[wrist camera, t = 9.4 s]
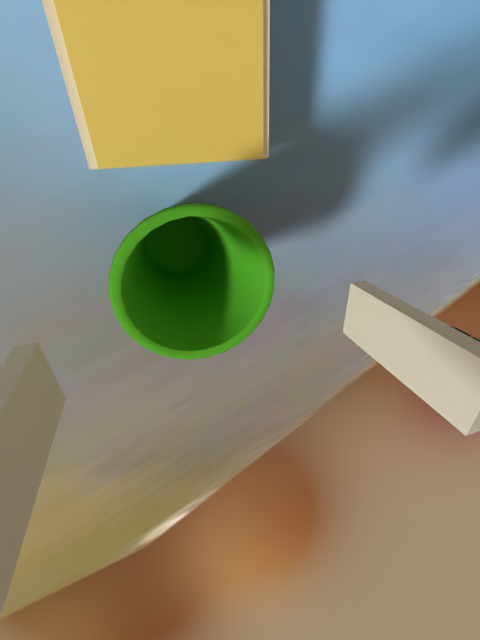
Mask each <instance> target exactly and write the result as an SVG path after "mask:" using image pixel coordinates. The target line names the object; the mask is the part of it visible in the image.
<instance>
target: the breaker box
mask: <svg viewBox="0 0 480 640" xmlns="http://www.w3.org/2000/svg"><path fill="white" fill-rule="evenodd" d="M42 3H43V6H44V10H45V13H46V17H47V20H48V24H49V28H50V31H51V35H52V38H53V42H54V45H55V49H56V52H57V56H58V59H59V63H60V66H61V70H62V73H63V77H64V80H65V84H66V88H67V91H68V95H69V98H70V102H71V105H72V109H73V112H74V116H75V119H76V123H77V126H78V130H79V133H80V137H81V140H82V144H83V147H84V151H85V155H86V158H87V162H88V165H89V169H108V168H124V167H140V166H156V165H172V164H188V163H204V162H220V161H236V160H252V159H265V158H269V53H270V0H42Z"/></svg>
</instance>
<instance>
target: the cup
mask: <svg viewBox="0 0 480 640" xmlns="http://www.w3.org/2000/svg"><path fill="white" fill-rule="evenodd" d="M273 291H274V266H273V261H272V257H271V253H270V251H269V249H268V247H267V245H266V243H265V241H264V239H263V237H262V236H261V235H260V234H259V232H258V231H257V230H256V229H255V228H254V227H253V226H252V225H251V224H250V223H249V222H248V221H247V220H245V219H243V218H242V217H240V216H239V215H237V214H236V213H234V212H233V211H230V210H227V209H224V208H221V207H217V206H214V205H211V204H189V203H188V204H183V205H179V206H174V207H170V208H165V209H163V210H161V211H159V212H157V213H155V214H153V215H152V216H150V217H148V218H146V219H144V220H143V221H142V222H140V223H139V224H138V225H137V226H136V227H135V228H134V229H133V230H132V231H131V232H130V233H129V234H127V235H126V237H125V239H124V240H123V242H122V243H121V245H120V247H119V248H118V250H117V252H116V253H115V255H114V258H113V262H112V266H111V269H110V273H109V298H110V301H111V304H112V307H113V311H114V314H115V316H116V318H117V319H118V321H119V322H120V324H121V325H122V327H123V329H124V330H125V331H126V332H127V333H128V334H129V335H130V336H131V337H132V338H133V339H134V340H135V341H136V342H138V343H139V344H140V345H142V346H144V347H145V348H147V349H149V350H151V351H153V352H155V353H157V354H160V355H163V356H167V357H170V358H176V359H190V360H191V359H199V358H207V357H210V356H213V355H216V354H219V353H223V352H225V351H227V350H229V349H230V348H232V347H234V346H236V345H238V344H239V343H240V342H242V341H243V340H244V339H245V338H246V337H248V336H249V335H250V334H251V333H252V332H253V331H254V329H255V328H256V327H257V326H258V325H259V323H260V322H261V321H262V319H263V317H264V315H265V313H266V312H267V310H268V308H269V306H270V302H271V298H272V295H273Z"/></svg>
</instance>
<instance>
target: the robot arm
mask: <svg viewBox="0 0 480 640" xmlns="http://www.w3.org/2000/svg"><path fill="white" fill-rule="evenodd" d="M343 333H344V334H345V335H347V336H348V337H349V338H350V339H351V340H353V341H354V342H355V343H356V344H357V345H358V346H360V347H361V348H362V349H363V350H364V351H366V352H367V353H368V354H369V355H370V356H372V357H373V358H374V359H375V360H376V361H378V362H379V363H380V364H381V365H382V366H384V367H385V368H386V369H387V370H388V371H390V372H391V373H392V374H393V375H394V376H395V377H397V378H398V379H399V380H400V381H401V382H402V383H404V384H405V385H406V386H407V387H408V388H410V389H411V390H412V391H413V392H414V393H416V394H417V395H418V396H419V397H420V398H422V399H423V400H424V401H425V402H426V403H427V404H429V405H430V406H431V407H432V408H434V409H435V410H436V411H437V412H438V413H439V414H440V415H442V416H443V417H444V418H445V419H447V420H448V421H449V422H450V423H451V424H453V425H454V426H455V427H456V428H457V429H459V431H461V432H462V433H463V434H464V435H466V436H467V435H470V434H472V433H475V432H477V431H480V340H478V339H476V338H474V337H471V335H468V334H467V333H465V332H463V331H461V330H459V329H457V328H455V327H452V326H449V325H447V324H445V323H443V322H441V321H439V320H437V319H436V318H434V317H432V316H430V315H428V314H426V313H424V312H422V311H421V310H419V309H417V308H415V307H413V306H411V305H409V304H407V303H406V302H404V301H402V300H400V299H398V298H396V297H394V296H392V295H391V294H389V293H387V292H385V291H383V290H381V289H379V288H377V287H376V286H374V285H372V284H370V283H368V282H366V281H360V282H355V283H351V285H350V292H349V298H348V304H347V310H346V316H345V322H344V328H343ZM65 399H66V397H65V395H64V393H63V391H62V389H61V387H60V385H59V383H58V381H57V379H56V377H55V375H54V373H53V371H52V369H51V367H50V365H49V363H48V361H47V359H46V357H45V355H44V353H43V351H42V349H41V347H40V345H39V343H33V344H28V345H22V346H17V347H14V348H13V349H12V351H11V352H10V354H9V355H8V357H7V358H6V360H5V361H4V363H3V364H2V366H1V367H0V614H1V613H2V610H3V606H4V603H5V600H6V596H7V593H8V590H9V586H10V583H11V580H12V576H13V573H14V569H15V566H16V563H17V559H18V556H19V553H20V549H21V546H22V543H23V539H24V536H25V533H26V529H27V526H28V523H29V519H30V516H31V513H32V509H33V506H34V502H35V499H36V496H37V492H38V489H39V486H40V482H41V479H42V476H43V472H44V469H45V466H46V462H47V459H48V456H49V452H50V449H51V445H52V442H53V439H54V435H55V432H56V429H57V425H58V422H59V419H60V415H61V412H62V409H63V405H64V402H65Z"/></svg>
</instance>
